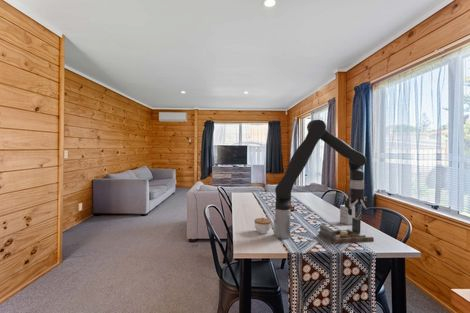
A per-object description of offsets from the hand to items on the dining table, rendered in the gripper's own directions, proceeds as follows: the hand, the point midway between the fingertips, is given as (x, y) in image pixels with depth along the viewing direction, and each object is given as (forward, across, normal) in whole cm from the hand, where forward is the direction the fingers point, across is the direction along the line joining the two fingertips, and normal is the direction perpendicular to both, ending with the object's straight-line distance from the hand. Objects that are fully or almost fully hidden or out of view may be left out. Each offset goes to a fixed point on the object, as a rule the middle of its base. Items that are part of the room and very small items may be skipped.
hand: (356, 214), depth 141 cm
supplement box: (+15, +16, +31) cm, 38 cm away
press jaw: (+13, 0, 0) cm, 13 cm away
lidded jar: (+15, -52, +20) cm, 58 cm away
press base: (+15, -7, 0) cm, 17 cm away
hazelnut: (+13, -8, 0) cm, 16 cm away
